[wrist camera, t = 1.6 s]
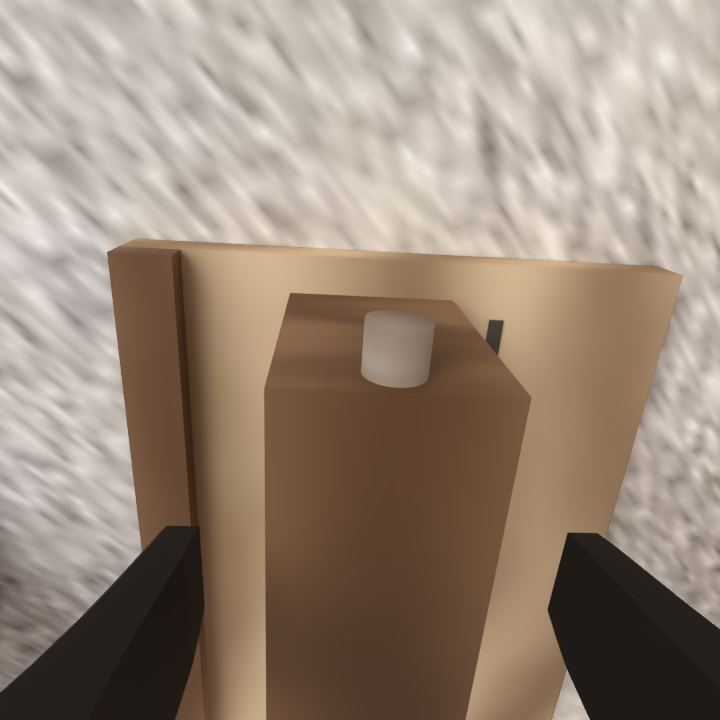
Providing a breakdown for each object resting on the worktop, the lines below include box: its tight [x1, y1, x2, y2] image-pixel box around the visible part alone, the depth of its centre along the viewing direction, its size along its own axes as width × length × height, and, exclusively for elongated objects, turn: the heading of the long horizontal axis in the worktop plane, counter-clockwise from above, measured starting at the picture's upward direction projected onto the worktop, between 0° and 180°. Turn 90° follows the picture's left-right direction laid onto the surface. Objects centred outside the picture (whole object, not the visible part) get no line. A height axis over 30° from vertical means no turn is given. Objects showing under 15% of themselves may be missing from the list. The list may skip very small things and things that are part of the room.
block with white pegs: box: [264, 293, 532, 720], centre depth 13 cm, size 4×10×6 cm, turn 176°
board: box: [107, 239, 683, 720], centre depth 18 cm, size 15×27×3 cm, turn 176°
